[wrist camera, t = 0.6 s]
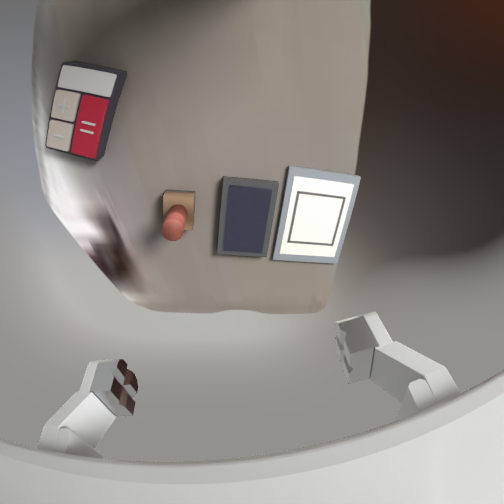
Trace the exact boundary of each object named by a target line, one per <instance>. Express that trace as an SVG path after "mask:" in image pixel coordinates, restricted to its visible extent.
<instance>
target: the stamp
mask: <svg viewBox="0 0 504 504" xmlns="http://www.w3.org/2000/svg"><path fill="white" fill-rule="evenodd" d="M194 206H195V191H180V190H166V191H165V193H164V195H163V227H162V235H163V236H164V237H165V238H166V239H167V240H169V241H176V240H179V239H180V238H181V237H182V235H183V231H184V230H193V224H194Z"/></svg>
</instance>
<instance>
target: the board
mask: <svg viewBox="0 0 504 504" xmlns="http://www.w3.org/2000/svg"><path fill="white" fill-rule="evenodd" d="M360 179H361V177H360V176H356V175H350V174H344V173H338V172H332V171H325V170H319V169H312V168H304V167H297V166H289V168H288V174H287V179H286V185H285V191H284V197H283V202H282V208H281V213H280V219H279V225H278V230H277V236H276V241H275V247H274V252H273V257H272V258H273V260H284V261H301V262H318V263H335V264H337V262H338V258H339V255H340V252H341V248H342V245H343V241H344V238H345V234H346V231H347V227H348V224H349V221H350V217H351V213H352V210H353V206H354V202H355V198H356V194H357V191H358V187H359V182H360Z"/></svg>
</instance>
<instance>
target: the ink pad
mask: <svg viewBox="0 0 504 504" xmlns="http://www.w3.org/2000/svg"><path fill="white" fill-rule="evenodd" d="M278 186H279V184H278V182H277V181H269V180H259V179H248V178H237V177H225V176H223V187H222V198H221V209H220V220H219V233H218V245H217V254H224V255H240V256H256V257H267V251H268V245H269V240H270V234H271V228H272V222H273V216H274V210H275V204H276V198H277V192H278Z"/></svg>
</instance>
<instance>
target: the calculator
mask: <svg viewBox="0 0 504 504" xmlns="http://www.w3.org/2000/svg"><path fill="white" fill-rule="evenodd" d="M126 76H127V72H126V71H123V70H118V69H113V68H108V67H103V66H98V65H93V64H87V63H81V62H74V61H73V62H63V63H62V66H61V69H60V73H59V77H58V81H57V85H56V90H55V94H54V99H53V103H52V108H51V114H50V119H49V125H48V131H47V138H46V147H47V148H50V149H54V150H57V151H61V152H65V153H69V154H72V155H76V156H80V157H84V158H87V159H91V160H94V161H98V160H99V159H100V158H101V157H103V156H104V153H105V149H106V144H107V140H108V136H109V132H110V129H111V125H112V121H113V117H114V113H115V109H116V106H117V102H118V99H119V97H120V94H121V91H122V88H123V85H124V82H125V79H126Z"/></svg>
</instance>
